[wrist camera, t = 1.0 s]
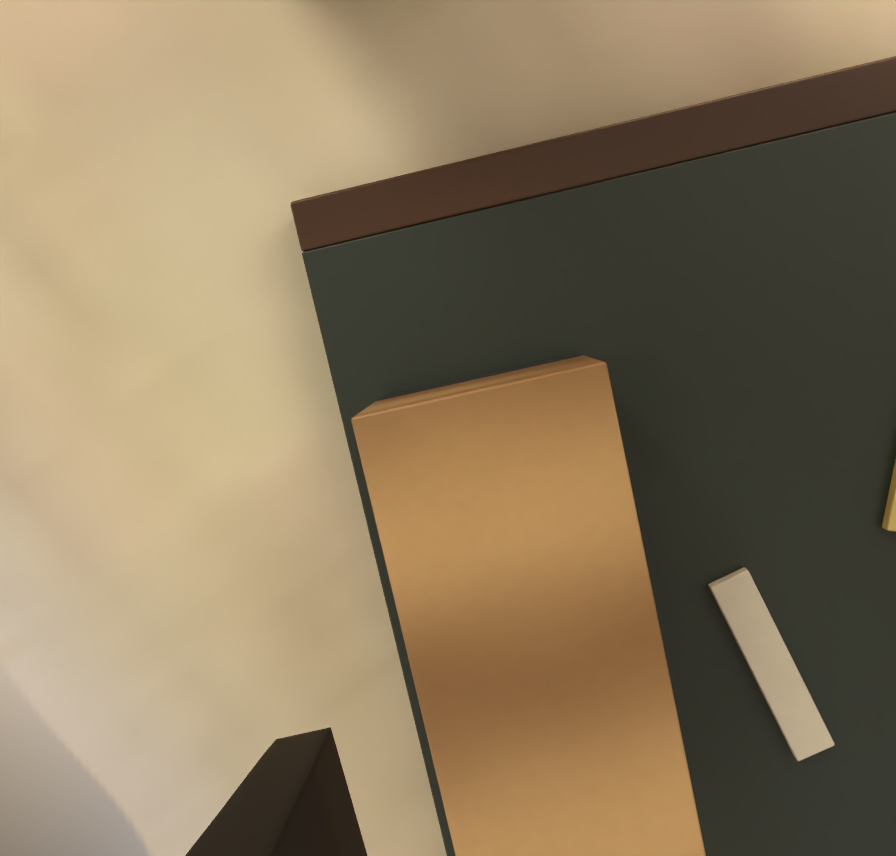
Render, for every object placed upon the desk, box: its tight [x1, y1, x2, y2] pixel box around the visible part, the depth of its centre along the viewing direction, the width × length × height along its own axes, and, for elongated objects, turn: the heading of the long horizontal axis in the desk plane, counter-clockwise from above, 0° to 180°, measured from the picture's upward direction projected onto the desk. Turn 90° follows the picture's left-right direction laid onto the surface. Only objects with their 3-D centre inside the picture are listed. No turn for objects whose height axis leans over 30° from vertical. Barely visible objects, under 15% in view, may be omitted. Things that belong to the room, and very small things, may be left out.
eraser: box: [352, 354, 706, 856], centre depth 19 cm, size 12×5×4 cm, turn 13°
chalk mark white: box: [708, 567, 835, 761], centre depth 20 cm, size 5×1×1 cm, turn 28°
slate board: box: [291, 56, 896, 856], centre depth 21 cm, size 22×18×1 cm
